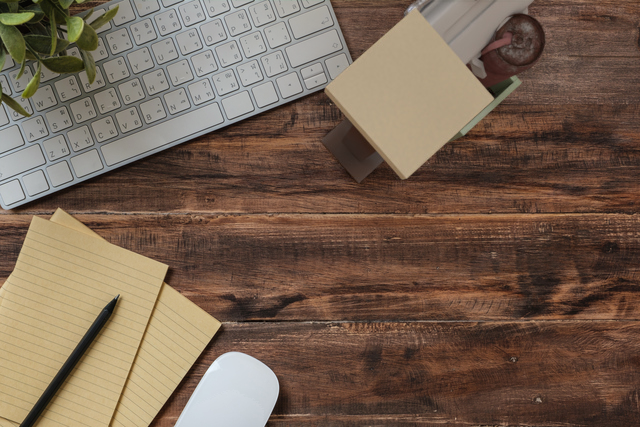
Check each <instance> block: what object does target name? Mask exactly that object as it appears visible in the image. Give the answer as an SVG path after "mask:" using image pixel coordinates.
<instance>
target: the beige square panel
mask: <svg viewBox="0 0 640 427" xmlns="http://www.w3.org/2000/svg"><path fill="white" fill-rule="evenodd" d="M403 17H404V16H403ZM403 17H402V18H401V19H400V20H399V21H398V22H397V23H396V24H394V26H392V28H390V29H389V30H388V31H386V33H384V34H383V36H381V37H380V38H379V39H378V40H377V41H375V43H374V44H372V45H371V46H370V47H368V48H367V49H366V50H365V51H364V52H363V53H362V54H361V55H360V56H358V57H357V58H356V59H355V60H354V61H353V62H352V63H351V64H350V65H348V66H347V67H346V68H345V69H344V70H342V71H341V72H340V73H339V74H338V75H337V76H336V77H334V79H332V80H331V81H330V82H328V84H327V85H326V86H325V87H324V91H323V92H324V94H326V96H327V97H328V98H329V99H330V100H331V101H332V103H334V104H335V106H336V107H337V108H338V109H339V111H341V113H342V114H343V115H344V116H345V118H346V117H347V118H348V119H349V120H350V121H351V123H352V124H353V125H354V126H355V127H356V128H357V129H358V130H359V132H360V133H361V134H362V135H363V136H364V137H365V138H366V139H367V141H368V142H369V143H370V144H371V145H372V146H373V147H374V149H375V150H376V151H377V152H378V153H379V154H380V155H381V156H382V158H383V159H384V161H385V162H386V163H387V164H388V166H389V167H390V169H392V170H393V172H395V174H396V175H397V176H398V177H399V179H401V181H402V180H406V179H408V178H410V177H411V176H412V175H413V174H414V173H415V172H416V171H418V169H419V168H421V167H422V166H423V165H424V164H425V163H426V162H427V161H428V160H429V159H431V157H432V156H434V155H435V154H436V153H437V152H438V151H440V150H441V148H442V147H444V146H445V145H446V144H447V143H449V142H448V141H449V140H450V139H451V138H452V137H453V136H454V135H456V134H457V133H458V132H459V131H460V130H461V129H462V128H463V127H464V126H466V125H467V124H468V123H469V122H470V121H471V120H472V119H473V118H474V117H475V116H477V115H478V114H479V113H480V112H481V111H482V110H483V109H484V108H485V107H486V106H488V105H489V104H490V103H491V102H492V101H493V100H494V98H493V97H492V95H493V94H491V93H490V92H489V90H488V89H486V88H485V87H484V86H483V85H482V84H481V83H480V81H479V80H478V79H477V78H476V77H475V76H474V75H473V73H472V72H471V71H470V70H469V69H468V68H467V66H466V65H465V64H464V63H463V62H462V61H461V60H460V58H459V57H458V56H457V55H456V54H455V53H454V51H453V50H452V49H451V48H450V47H449V46H448V44H447V43H446V42H445V41H444V40H443V39H442V38H441V36H440V35H439V34H438V33H437V32H436V31H435V29H434V28H433V27H432V26H431V25H430V24H429V22H428V21H427V20H426V19H425V18H424V17H423V16H422V14H421V13H420V12H419V11H418V10H417V9H416V8H414V9H413V10H412V11H411V12H410V13H409V14H407V15H406V16H405V17H404V18H403Z"/></svg>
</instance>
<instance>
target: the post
mask: <svg viewBox="0 0 640 427" xmlns="http://www.w3.org/2000/svg"><path fill="white" fill-rule="evenodd" d="M319 142H320V144H321V145H322V146H324V148H325V149H326V150H327V151H328V152H329V153H330V154H331V156H332V157H333V158H334V159H335V160H336V161H337V163H338V164H340V166H341V167H342V168H343V169H344V170H345V171H346V173H347V174H348V175H349V176H350V177H351V178H352V179H353V180H354V181H355V183H356V184H357V185H358V184H361V182H363V180H365V179H366V178H367V177H368V176H369V175H370V174H371V173H372V172H374V170H376V169H377V168H378V167H379V166H381V165H382V163H383V162H384V161H385V160H384V159H383V158H382V156H381V155H380V154H379V153H378V152H377V151H376V150H375V149H374V147H373V146H372V145H371V144H370V143H369V142H368V141H367V139H366V138H365V137H364V136H363V135H362V134H361V133H360V132H359V130H358V129H357V128H356V127H355V126H354V125H353V124H352V123H351V121H350V120H349V119H348V118H347V117H346V116H345V118H344V119H342V121H340V122H339V123H338V124H337V125H336V126H335V127H334V128H332V129H331V130H330V131H329V132H328V133H326V134H325V136H323V137H322V138H321V139H320V141H319Z"/></svg>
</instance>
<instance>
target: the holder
mask: <svg viewBox="0 0 640 427" xmlns="http://www.w3.org/2000/svg"><path fill="white" fill-rule="evenodd" d="M522 83H523V82H522V81H521V80H520V79H519V78H518V76H517V75H515V76H512V77H510V78H508V79H506V80H504V81H502V82H499V83H497V84H495V85H493V86H491V87H489V88H488V89H490V90H491V91H492V92H493V94H491V95H492V97H493V98H494V100H493V101H492V102H491V103H490V104H489V105H488V106H486V107H485V108H484V109H483V110H482V111H481V112H480V113H479V114H478V115H477V116H475V117H474V118H473V119H472V120H471V121H470V122H469V123H468V124H467V125H466V126H464V127H463V128H462V129H461V130H460V131H459V132H458V133H457V134H456V135H454V136H453V137H452V138H451V139H450V140H449V141H448V142H447V143H451V142H453V141H456V140H457V139H459V138H460V139H461V138H462V137H464V136H465V135H466V134H467V133H469V132H470V131H471V130H472V129H473V128H475V126H476V125H478V123H479V122H481V121H482V120H483V119H484V118H485V117H486V116H487V115H489V114H490V113H491V112H492V111H493V110H494V109H495V108H496V107H497V106H498V105H499V104H501V103H502V102H503V101H504V100H505V99H506V98H507V97H508V96H509V95H511V93H513V92H514V91H515V90H516V89H517V88H518V87H520V85H522Z"/></svg>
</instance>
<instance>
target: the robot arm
mask: <svg viewBox="0 0 640 427" xmlns="http://www.w3.org/2000/svg"><path fill="white" fill-rule="evenodd" d="M534 1H535V0H415V1H413V2H412V3H410V4H409V5H408V6H407V7H406V8H405V9H404V11H403V17H402V19H403V18H404V17H405V16H406V15H407V14H409V13H410V12H411V11H412V10H413V9H414V8H416V9H417V10H418V11H419V12H420V13H421V14H422V16H423V17H424V18H425V19H426V20H427V21H428V22H429V24H430V25H431V26H432V27H433V28H434V29H435V31H436V32H437V33H438V34H439V35H440V36H441V38H442V39H443V40H444V41H445V42H446V43H447V44H448V46H449V47H450V48H451V49H452V50H453V51H454V53H455V54H456V55H457V56H458V57H459V58H460V60H461V61H462V62H463V63H464V64H465V65H466V64H467V63H469V64H471V68H472V71H473V73H474V74H475V75H476V76H478V77H480V78H482V79H484V78H485V77H486V76H487V74H486V73H485V69H484V65H483V62H482V61H480V60H479V59H478V58H479V57H480V56H481V55H482V53H481V50H482V49H483V48H484V47H485V46H486V45H487V44H488V43H489V42H490V40H491V38H492V36H493V35H494V33H495V31H496V29H497V27H498V26H499V27H498V29H497V31H498V30H499V29H500V28H501V27H502V26H503V25H504V24H505V23H506V22H507V21H508V20H509V19H510V18H511V17H512V16H511V17H508V16H510V15H512V14H517V13H524V14H528V15H529V6H530V5H531V4H532V3H533V2H534ZM506 17H507V18H506ZM505 18H506V19H505ZM504 19H505V20H504ZM503 20H504V21H503ZM502 21H503V22H502ZM500 23H501V24H500ZM499 24H500V25H499Z"/></svg>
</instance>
